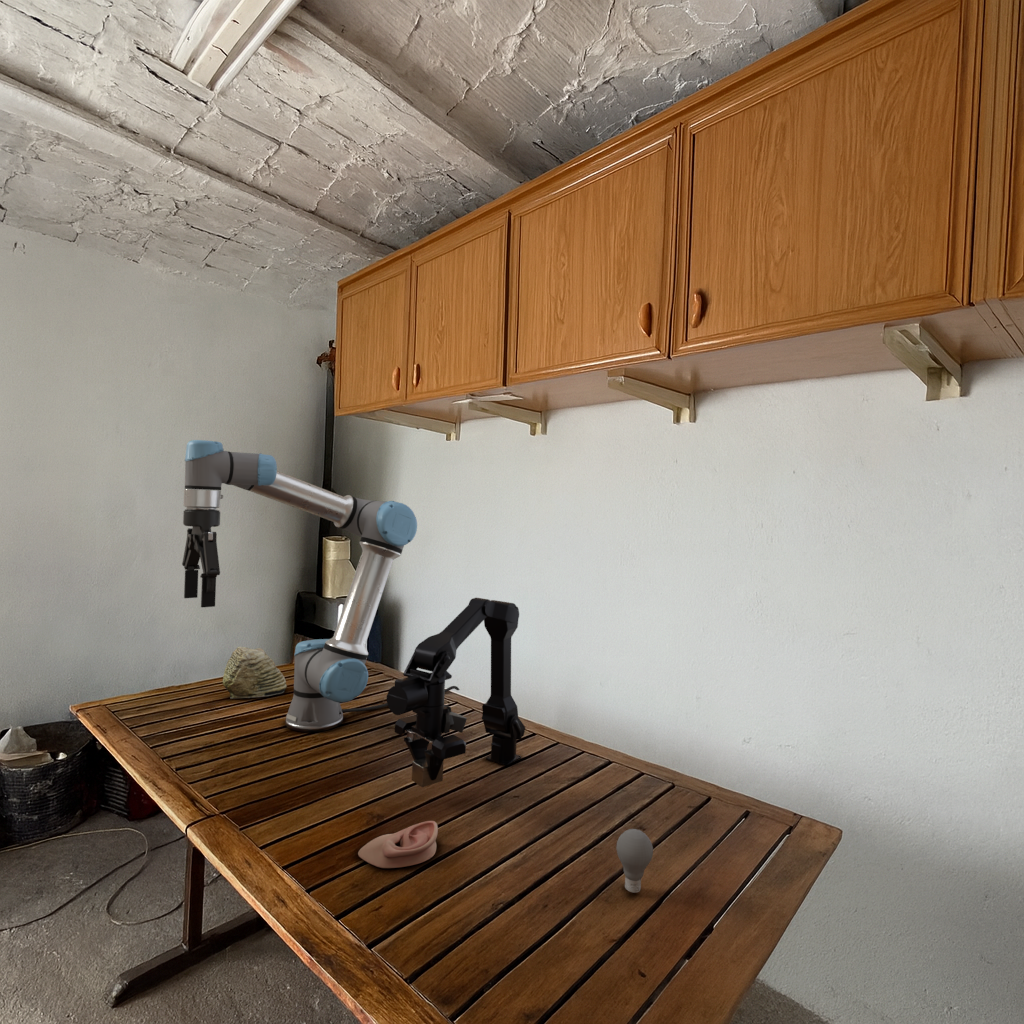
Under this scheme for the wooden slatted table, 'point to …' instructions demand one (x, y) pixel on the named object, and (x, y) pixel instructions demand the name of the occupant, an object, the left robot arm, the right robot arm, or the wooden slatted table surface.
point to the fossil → (252, 674)
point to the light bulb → (634, 857)
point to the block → (424, 773)
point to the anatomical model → (402, 846)
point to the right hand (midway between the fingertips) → (427, 776)
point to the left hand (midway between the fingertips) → (199, 602)
